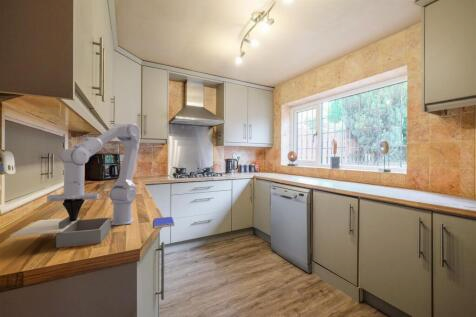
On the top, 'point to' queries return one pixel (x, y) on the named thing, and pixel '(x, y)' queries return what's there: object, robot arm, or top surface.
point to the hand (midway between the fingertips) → (73, 220)
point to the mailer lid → (45, 227)
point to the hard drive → (163, 222)
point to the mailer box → (84, 232)
